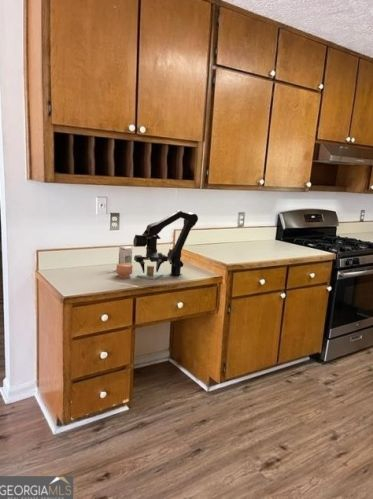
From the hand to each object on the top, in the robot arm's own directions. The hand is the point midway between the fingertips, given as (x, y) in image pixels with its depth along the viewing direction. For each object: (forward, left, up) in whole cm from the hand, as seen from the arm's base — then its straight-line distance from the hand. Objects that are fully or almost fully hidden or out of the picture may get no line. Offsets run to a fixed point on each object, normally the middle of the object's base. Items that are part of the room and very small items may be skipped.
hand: (150, 272), depth 219 cm
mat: (0, 0, -3) cm, 3 cm away
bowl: (+9, -12, -3) cm, 15 cm away
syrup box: (-5, -20, -3) cm, 21 cm away
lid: (0, 0, -2) cm, 2 cm away
